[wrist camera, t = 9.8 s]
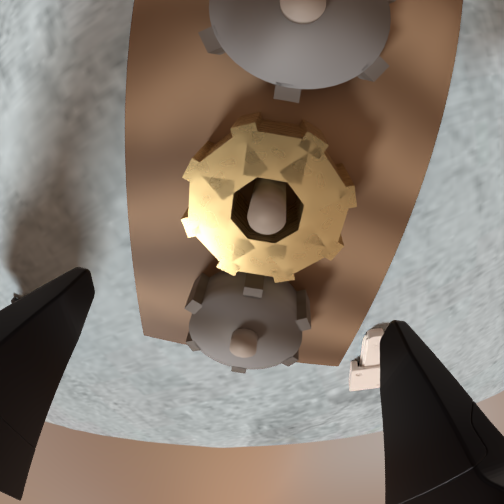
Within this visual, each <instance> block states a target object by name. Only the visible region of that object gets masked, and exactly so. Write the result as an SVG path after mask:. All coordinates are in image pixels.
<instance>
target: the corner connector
mask: <svg viewBox="0 0 504 504" xmlns="http://www.w3.org/2000/svg"><path fill="white" fill-rule="evenodd" d="M383 334H384V332H383V329H382V328H377V329H370V330H368V331H367V335H365V336H364V338H363V341H362V349H361V356H360V363H359V366H360V365H362V367H358V364H357V361H351V366H350V374H349V391H356V390H364V389H372V388H379V387H380V340H381V337H382V336H383Z"/></svg>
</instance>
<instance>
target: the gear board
mask: <svg viewBox="0 0 504 504" xmlns="http://www.w3.org/2000/svg"><path fill="white" fill-rule="evenodd" d="M462 4H463V0H134V6H133V14H132V22H131V30H130V40H129V51H128V63H127V79H126V103H125V163H126V188H127V205H128V219H129V230H130V241H131V251H132V260H133V268H134V276H135V283H136V290H137V297H138V304H139V310H140V316H141V322H142V328H143V333H144V335H146V336H150V337H154V338H158V339H163V340H167V341H172V342H177V343H181V344H186V345H188V346H189V347H190V348H191V350H192V351H198V350H201V351H202V352H203V353H204V354H205V355H207V356H208V357H210V358H212V359H213V360H215V361H217V362H219V363H222V364H225V365H228V366H231V367H232V370H231V371H233V372H239V373H245V372H246V369H263V368H269V367H273V366H276V365H279V364H281V363H282V364H284V365H286V366H290V365H292V364H293V363H295V362H300V363H309V364H318V365H329V366H339V364H340V362H341V360H342V359H343V357H344V355H345V353H346V352H347V350H348V348H349V346H350V344H351V343H352V341H353V339H354V337H355V335H356V333H357V332H358V330H359V328H360V326H361V324H362V322H363V320H364V318H365V316H366V314H367V312H368V310H369V308H370V306H371V304H372V302H373V300H374V298H375V296H376V294H377V292H378V290H379V288H380V286H381V284H382V281H383V279H384V277H385V275H386V273H387V271H388V268H389V266H390V264H391V262H392V259H393V257H394V255H395V252H396V250H397V248H398V245H399V243H400V241H401V238H402V236H403V233H404V231H405V228H406V226H407V223H408V221H409V218H410V216H411V213H412V210H413V208H414V205H415V202H416V199H417V197H418V194H419V191H420V188H421V185H422V182H423V180H424V177H425V174H426V171H427V167H428V164H429V161H430V158H431V155H432V152H433V148H434V145H435V141H436V138H437V134H438V131H439V127H440V124H441V120H442V116H443V112H444V108H445V104H446V100H447V95H448V91H449V86H450V82H451V77H452V72H453V67H454V62H455V56H456V50H457V44H458V37H459V30H460V22H461V14H462ZM260 111H261V115H262V118H263V119H267V120H274V121H280V122H286V123H291V124H297V125H299V124H300V122H301V121H302V120H303V119H304V120H306V121H308V122H309V123H311V124H312V125H314V126H315V127H317V128H318V129H320V130H321V132H322V133H323V135H324V137H325V139H326V141H327V143H328V145H329V146H328V147H327V149H326V151H327V153H328V154H329V156H330V157H331V159H332V160H333V162H334V163H335V164H340V163H343V165H344V167H345V169H346V170H347V172H348V174H349V176H350V178H351V180H352V182H353V184H354V186H355V194H356V202H357V207H354V208H349V209H348V212H347V215H346V218H345V222H344V225H343V228H342V231H341V236H342V240H343V243H344V247H343V248H342V249H341V250H340V252H339V253H338V254H337V255H336V256H335V257H334V258H333V259H332V260H331V261H330V260H328V259H327V258H325V257H324V258H323V259H321V260H319V261H317V262H315V263H313V264H311V265H309V266H308V267H306V268H304V269H302V270H300V271H298V272H296V273H295V280H290V281H284V282H277V283H275V281H274V278H273V277H271V276H264V275H258V274H252V273H246V272H240V271H238V272H237V273H236V275H235V276H233V275H231V274H229V273H227V272H225V271H223V270H221V269H219V268H217V263H218V259H217V258H216V257H215V256H214V255H213V254H212V253H211V252H210V251H209V250H208V249H207V248H206V247H205V245H204V244H203V243H202V242H201V241H200V240H199V239H198V238H197V237H196V236H194V237H189V238H188V235H187V233H186V231H185V228H184V226H183V223H182V221H181V218H182V216H183V215H184V213H185V211H186V210H187V208H188V206H189V187H190V182H189V181H187V180H185V179H184V178H182V177H183V175H184V173H185V171H186V169H187V167H188V165H189V163H190V161H191V159H192V157H193V156H194V155H195V154H196V153H197V152H198V151H199V150H200V149H201V148H202V147H203V146H204V144H205V143H206V142H207V141H210V142H212V143H214V144H216V143H217V142H218V141H219V140H221V139H222V138H223V137H225V136H226V135H227V134H229V133H230V132H231V130H230V128H231V127H232V126H233V124H234V123H235V122H236V121H237V120H238V118H239V117H240V116H243V115H248V114H252V113H256V112H260ZM239 192H240V193H241V194H242V196H243V197H244V198H245V199H246V201H247V202H248V203H249V204H250V206H249V210H248V215H247V219H248V223H249V225H250V226H251V228H252V229H253V230H255V231H256V232H258V233H261V234H266V235H269V234H274V233H277V232H278V231H280V230H281V229H282V228H283V227H284V225H285V222H286V207H288V206H290V205H291V204H293V203H295V202H296V201H297V195H296V193H295V192H294V190H293V189H292V188H291V186H290V185H289V184H288V182H283V181H277V180H271V179H265V178H259V177H257V178H255V179H254V180H252V181H251V182H249V183H248V184H246V185H245V186H243V187H242V188H240V191H239Z"/></svg>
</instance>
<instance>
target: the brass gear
mask: <svg viewBox="0 0 504 504" xmlns="http://www.w3.org/2000/svg"><path fill="white" fill-rule="evenodd" d="M230 130H231V132H230V133H229V134H227V135H226V136H225V137H223V138H222V139H221V140H219V141H218V142H217V143H216V144H214V143H212V142H210V141H207V142H206V143H205V144H204V146H203V147H202V148H201V149H200V150H199V151H198V152H197V153H196V154H195V155H194V156H193V157H192V159H191V161H190V163H189V165H188V167H187V169H186V171H185V173H184V175H183V177H182V178H184V179H185V180H187V181H189V182H190V187H189V206H188V208H187V210H186V211H185V213H184V215H183V216H182V218H181V221H182V223H183V226H184V228H185V231H186V233H187V235H188V238H189V237H194V236H196V237H197V238H198V239H199V240H200V241H201V242H202V243H203V244H204V245H205V247H206V248H207V249H208V250H209V251H210V252H211V253H212V254H213V255H214V256H215V257H216V258H217V259H218V263H217V268H219V269H221V270H223V271H225V272H227V273H229V274H231V275H233V276H235V275H236V273H237V272H238V271H240V272H246V273H252V274H258V275H264V276H271V277H273V278H274V281H275V283H277V282H284V281H290V280H295V273H296V272H298V271H300V270H302V269H304V268H306V267H308V266H309V265H311V264H313V263H315V262H317V261H319V260H321V259H323V258H324V257H325V258H327V259H328V260H330V261H331V260H332V259H333V258H334V257H335V256H336V255H337V254H338V253H339V252H340V250H341V249H342V248H343V247H344V243H343V240H342V236H341V231H342V228H343V225H344V222H345V218H346V215H347V212H348V209H349V208H354V207H357V202H356V194H355V186H354V184H353V182H352V180H351V178H350V176H349V174H348V172H347V170H346V169H345V167H344V165H343V163H340V164H335V163H334V162H333V160H332V159H331V157H330V156H329V154H328V153H327V151H326V149H327V147H328V146H329V145H328V143H327V141H326V139H325V137H324V135H323V133H322V132H321V130H320V129H318V128H317V127H315V126H314V125H312V124H311V123H309V122H308V121H306V120H304V119H303V120H302V121H301V122H300V124H299V125H297V124H291V123H286V122H280V121H274V120H267V119H263V118H262V115H261V111H260V112H256V113H252V114H248V115H243V116H240V117H239V118H238V120H237V121H236V122H235V123H234V124H233V126H232V127H231V128H230ZM257 177H259V178H265V179H271V180H277V181H283V182H288V184H289V185H290V186H291V188H292V189H293V190H294V192H295V193H296V195H297V201H296V202H295V203H293V204H291V205H290V206H288V207H286V222H285V225H284V227H283V228H282V229H281V230H280V231H278V232H277V233H274V234H269V235H266V234H261V233H258V232H256V231H255V230H253V229H252V228H251V226H250V225H249V223H248V219H247V215H248V210H249V206H250V204H249V203H248V202H247V201H246V199H245V198H244V197H243V196H242V194H241V193H240V192H239V191H240V188H242V187H243V186H245V185H246V184H248V183H249V182H251V181H252V180H254V179H255V178H257Z"/></svg>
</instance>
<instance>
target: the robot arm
mask: <svg viewBox="0 0 504 504" xmlns="http://www.w3.org/2000/svg"><path fill="white" fill-rule="evenodd" d="M94 294H95V290H94V285H93V281H92V277H91V273H90V271H89V270H88V269H85V268H81V267H76V268H74V269H72V270H70V271H69V272H67V273H65V274H63V275H61V276H59V277H58V278H56V279H54V280H52V281H50V282H49V283H47V284H45V285H43V286H41V287H40V288H38V289H36V290H34V291H33V292H31V293H29V294H27V295H26V296H24V297H22V298H21V299H16V298H13V299H12V300H11V303H12V304H10V305H9V306H7V307H5V308H4V309H2V310H0V491H1V492H3V493H5V494H7V495H9V496H11V497H13V498H15V499H18V500H21V498H22V495H23V491H24V487H25V483H26V479H27V476H28V472H29V469H30V465H31V462H32V458H33V455H34V452H35V448H36V445H37V442H38V439H39V436H40V433H41V430H42V427H43V425H44V422H45V419H46V416H47V414H48V411H49V408H50V406H51V403H52V400H53V398H54V395H55V393H56V390H57V388H58V385H59V383H60V380H61V378H62V376H63V373H64V371H65V369H66V366H67V364H68V362H69V359H70V357H71V355H72V353H73V350H74V348H75V346H76V344H77V341H78V339H79V337H80V334H81V331H82V328H83V326H84V323H85V320H86V317H87V314H88V312H89V309H90V306H91V304H92V301H93V298H94ZM380 395H381V406H382V418H383V432H384V451H385V491H386V492H385V504H504V436H503V435H502V434H501V433H500V432H499V431H498V430H497V428H496V427H495V426H494V425H493V424H492V423H491V422H490V421H489V419H488V418H487V417H486V416H485V414H484V413H483V412H482V411H481V410H480V408H479V407H478V406H477V405H476V403H475V402H474V401H473V400H472V398H471V397H470V396H469V395H468V393H467V392H466V391H465V390H464V389H463V387H462V386H461V385H460V384H459V382H458V381H457V380H456V379H455V378H454V377H453V375H452V374H451V373H450V372H449V371H448V369H447V368H446V367H445V366H444V365H443V364H442V362H441V361H440V360H439V359H438V358H437V357H436V355H435V354H434V353H433V352H432V351H431V350H430V349H429V347H428V346H427V345H426V344H425V343H424V342H423V341H422V340H421V338H420V337H419V336H418V335H417V334H416V333H415V332H414V331H413V330H412V328H411V327H410V326H409V325H408V324H407V323H406V322H405V321H398V320H393V321H391V322H390V324H389V326H388V327H387V329H386V331H385V332H384V334H383V336H382V337H381V340H380Z"/></svg>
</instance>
